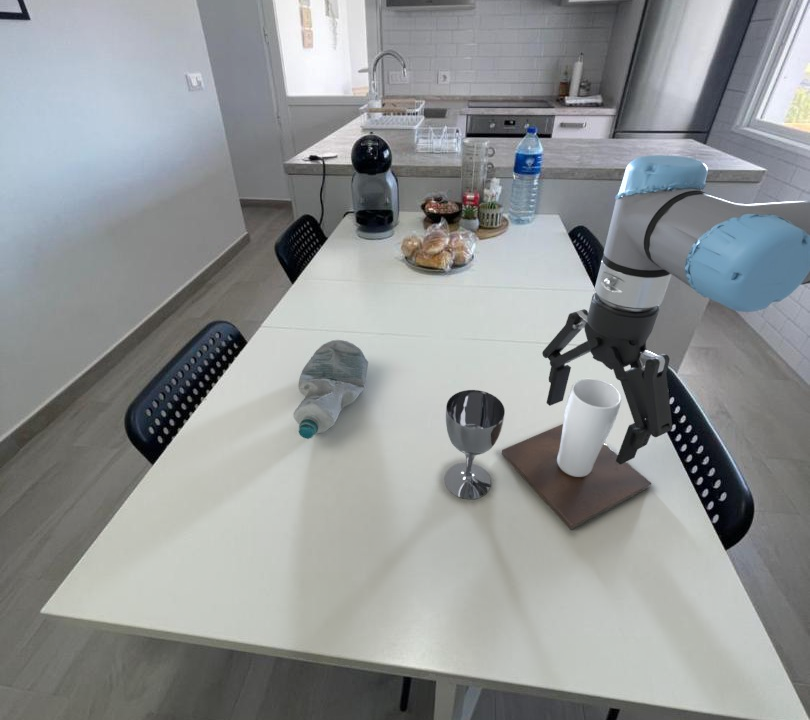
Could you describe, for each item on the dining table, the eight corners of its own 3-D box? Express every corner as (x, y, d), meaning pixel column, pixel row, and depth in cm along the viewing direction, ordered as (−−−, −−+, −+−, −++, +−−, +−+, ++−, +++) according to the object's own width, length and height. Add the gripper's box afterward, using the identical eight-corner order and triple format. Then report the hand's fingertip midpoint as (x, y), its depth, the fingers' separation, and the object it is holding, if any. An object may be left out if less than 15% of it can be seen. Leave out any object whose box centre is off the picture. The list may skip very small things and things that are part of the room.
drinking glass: (571, 488, 67) (595, 414, 58) (542, 457, 72) (560, 385, 63) (605, 473, 69) (634, 400, 60) (575, 444, 74) (597, 372, 66)
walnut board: (649, 487, 68) (651, 483, 68) (571, 530, 62) (572, 525, 62) (573, 422, 80) (574, 418, 79) (501, 453, 74) (501, 449, 74)
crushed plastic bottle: (316, 359, 96) (266, 441, 76) (315, 331, 92) (262, 410, 72) (376, 370, 95) (341, 456, 75) (377, 341, 91) (341, 424, 70)
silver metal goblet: (503, 479, 70) (516, 407, 61) (472, 511, 65) (482, 438, 56) (462, 453, 74) (469, 382, 66) (431, 481, 70) (434, 409, 61)
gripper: (532, 267, 61) (512, 389, 73) (705, 358, 43) (641, 500, 55) (573, 257, 64) (548, 376, 76) (752, 339, 46) (681, 478, 58)
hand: (587, 428), depth 65 cm, fingers open, 13 cm apart
